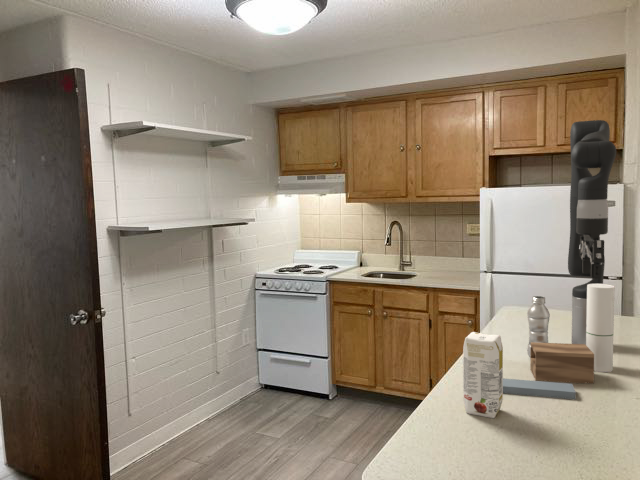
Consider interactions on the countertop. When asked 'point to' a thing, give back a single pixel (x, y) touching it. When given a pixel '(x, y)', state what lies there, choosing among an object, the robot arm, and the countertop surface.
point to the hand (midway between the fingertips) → (591, 275)
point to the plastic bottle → (538, 322)
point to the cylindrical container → (600, 325)
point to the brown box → (562, 362)
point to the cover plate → (539, 388)
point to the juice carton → (482, 374)
